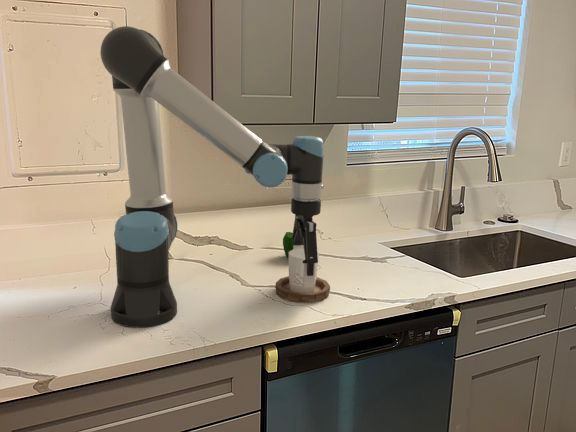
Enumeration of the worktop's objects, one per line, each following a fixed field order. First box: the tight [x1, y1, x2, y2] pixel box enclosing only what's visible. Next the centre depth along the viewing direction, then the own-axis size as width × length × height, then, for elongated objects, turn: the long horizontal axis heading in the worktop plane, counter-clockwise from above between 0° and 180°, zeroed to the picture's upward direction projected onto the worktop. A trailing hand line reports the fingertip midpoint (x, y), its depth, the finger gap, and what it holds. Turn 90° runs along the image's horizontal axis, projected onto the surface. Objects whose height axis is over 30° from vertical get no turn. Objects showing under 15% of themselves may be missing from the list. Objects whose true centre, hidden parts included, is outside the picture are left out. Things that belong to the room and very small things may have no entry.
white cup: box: [288, 249, 320, 293], centre depth 148 cm, size 8×8×10 cm
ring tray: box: [275, 275, 331, 304], centre depth 149 cm, size 14×14×2 cm
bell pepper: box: [282, 231, 304, 259], centre depth 175 cm, size 8×8×10 cm
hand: (302, 277), depth 148 cm, fingers open, 13 cm apart
